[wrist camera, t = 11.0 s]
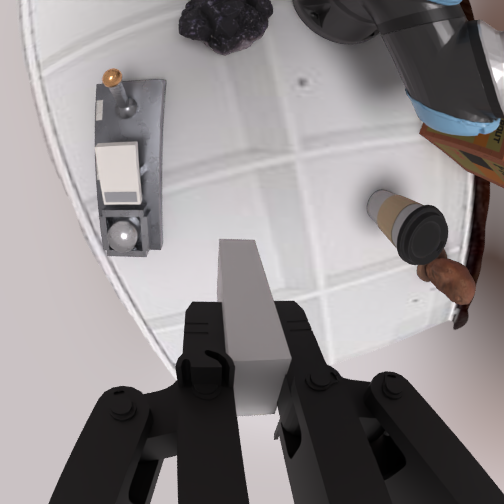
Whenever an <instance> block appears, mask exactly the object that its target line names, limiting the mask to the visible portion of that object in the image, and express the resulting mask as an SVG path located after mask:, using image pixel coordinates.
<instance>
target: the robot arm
mask: <svg viewBox="0 0 504 504" xmlns="http://www.w3.org/2000/svg"><path fill="white" fill-rule="evenodd" d="M461 1H462V0H293V3H294V6H295V9H296V11H297V13H298V15H299V16H300V18H301V19H302V20H303V22H304V23H305V24H306V25H307V26H308V27H309V28H310V29H312V30H313V31H314V32H315V33H317V34H318V35H320V36H322V37H324V38H326V39H328V40H331V41H333V42H337V43H342V44H356V43H361V42H364V41H367V40H369V39H371V38H373V37H374V36H376V35H377V34H378V33H379V32H380V34H381V36H382V38H383V40H384V42H385V44H386V46H387V48H388V50H389V52H390V54H391V56H392V58H393V60H394V62H395V64H396V67H397V69H398V71H399V73H400V76H401V78H402V80H403V83H404V85H405V91H406V94H407V95H408V97H409V98H410V99H411V101H412V104H413V106H414V108H415V111H416V113H417V115H418V117H419V118H420V120H421V121H423V122H424V123H425V124H426V125H427V126H429V127H430V128H432V129H434V130H437V131H440V132H443V133H447V134H452V135H459V136H477V135H478V133H481V134H488V133H491V132H493V131H494V130H496V129H497V128H498V126H499V123H500V120H501V118H502V119H504V31H503V32H501V31H497V30H495V29H494V28H493V27H491V26H490V25H488V24H486V23H485V22H484V21H482V20H474V21H468V20H467V19H466V17H464V16H465V15H464V13H463V10H462V8H461V6H460V4H459V3H460V2H461ZM401 29H402V30H401ZM397 30H398V31H397ZM390 32H391V33H390ZM387 33H388V34H387ZM175 367H176V374H177V381H176V382H175V383H174V384H173V385H171V386H170V387H168V388H166V389H163V390H160V391H156V392H152V393H147V394H142V392H140V391H139V390H136V389H135V388H133V387H126V386H119V387H113V388H111V389H109V390H108V391H106V392H104V393H103V394H102V396H101V397H100V398H99V399H98V401H97V403H96V405H95V407H94V409H93V411H92V413H91V415H90V416H89V418H88V420H87V422H86V424H85V426H84V428H83V430H82V432H81V434H80V436H79V438H78V440H77V442H76V444H75V446H74V448H73V450H72V452H71V455H70V457H69V459H68V461H67V463H66V465H65V467H64V470H63V472H62V474H61V476H60V478H59V480H58V483H57V485H56V487H55V490H54V492H53V494H52V497H51V499H50V502H49V504H150V502H151V499H152V495H153V492H154V489H155V486H156V483H157V479H158V476H159V473H160V470H161V467H162V463H163V460H164V458H168V457H172V456H176V455H177V476H178V504H249V498H248V493H247V486H246V480H245V472H244V465H243V458H242V451H241V445H240V436H239V429H238V421H237V416H251V415H266V414H275V411H276V408H277V406H278V410H279V415H280V420H279V422H278V425H277V428H276V430H275V433H274V440H275V439H278V437H279V436H280V441H281V445H282V450H283V455H284V459H285V464H286V468H287V473H288V477H289V482H290V486H291V491H292V494H293V499H294V504H504V494H503V493H502V491H501V490H500V489H499V488H498V486H497V485H496V484H495V483H494V481H493V480H492V479H491V478H490V476H489V475H488V474H487V473H486V472H485V470H484V469H483V468H482V466H481V465H480V464H479V463H478V462H477V460H476V459H475V458H474V457H473V456H472V454H471V453H470V452H469V451H468V450H467V449H466V447H465V446H464V445H463V444H462V442H461V441H460V440H459V439H458V438H457V436H456V435H455V434H454V433H453V432H452V431H451V430H450V429H449V427H448V426H447V425H446V424H445V422H444V421H443V420H442V419H441V418H440V417H439V416H438V414H437V413H436V412H435V411H434V410H433V409H432V407H431V406H430V405H429V404H428V403H427V402H426V401H425V399H424V398H423V397H422V396H421V395H420V394H419V393H418V392H417V390H416V389H415V388H414V387H413V386H412V385H411V384H410V383H409V382H408V380H406V379H405V378H404V377H403V376H402V375H399V374H397V373H395V372H382V373H379V374H377V375H376V376H375V377H374V378H373V379H372V381H371V382H366V381H357V380H350V379H346V378H343V377H341V376H340V374H339V373H338V371H337V370H335V369H334V368H332V367H331V366H329V365H327V364H326V362H325V360H324V358H323V355H322V353H321V350H320V348H319V346H318V343H317V341H316V338H315V336H314V334H313V331H311V326H310V324H309V322H308V319H307V317H306V314H305V312H304V310H303V309H302V308H301V307H300V306H299V305H298V304H297V303H296V302H295V301H274V300H273V297H272V294H271V290H270V287H269V284H268V281H267V278H266V274H265V271H264V268H263V265H262V262H261V259H260V255H259V252H258V249H257V246H256V243H255V240H240V239H219V256H218V279H217V302H192V303H191V305H190V306H189V307H188V309H187V310H186V313H185V326H184V340H183V354H182V355H181V356H180V357H179V358H178V360H177V363H176V366H175Z"/></svg>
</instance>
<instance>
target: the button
mask: <svg viewBox="0 0 504 504" xmlns="http://www.w3.org/2000/svg"><path fill="white" fill-rule="evenodd" d="M140 234H141V224H140V222H139V220H138V219H137V218H136V217H119V218H118V219H117V220H116V221H115V223H114V224H113V225H112V227H111V228H110V229H109V231H108V233H107V241H108V243H109V245H110V247H111V248H112V249H114V250H115V251H117V252H120V253H126V252H129V251H131V250H132V249H133V248H134V246H135V244H136V242H137V240H138V238H139V236H140Z"/></svg>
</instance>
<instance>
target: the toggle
mask: <svg viewBox="0 0 504 504" xmlns="http://www.w3.org/2000/svg"><path fill="white" fill-rule="evenodd" d="M121 80H122V73H121V72H120V71H119V70H118V69H115V68H112V69H109V70H107V71H106V72H105V73H104V75H103V77H102V81H103V84H104V85H105V86H106V87H109V89H110V91H111V93H112V95H113V97H114V99H115V101H116V103H117V105H118V107H119V108H128V104H129V99H128V97H127V94H126V92H125V89H124V87H123V85H122V82H121Z"/></svg>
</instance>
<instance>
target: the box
mask: <svg viewBox="0 0 504 504" xmlns="http://www.w3.org/2000/svg"><path fill="white" fill-rule="evenodd" d="M419 134H421V135H422V136H423V137H425V138H426V139H427V140H429V141H430V142H431V143H433V144H434V145H435V146H437V147H438V148H439V149H440V150H442V151H443V152H444V153H446V154H447V155H448V156H449V157H450V158H452V159H453V160H454V161H455V162H457V163H458V164H459V165H460V166H461V167H462V168H464V169H465V170H466V171H468V172H470V173H472V174H475V175H477V176H479V177H481V178H483V179H486V180H488V181H490V182H492V183H494V184H496V185H498V186H500V187H503V188H504V119H502V118H501V120H500V123H499V126H498V128H497V129H496V130H494V131H493V132H491V133H488V134H481V133H478V135H477V136H459V135H452V134H447V133H443V132H440V131H437V130H434V129H432V128H430V127H429V126H427V125H426V124H425V123H424V122H423V125H422V128H421V130H420V133H419Z"/></svg>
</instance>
